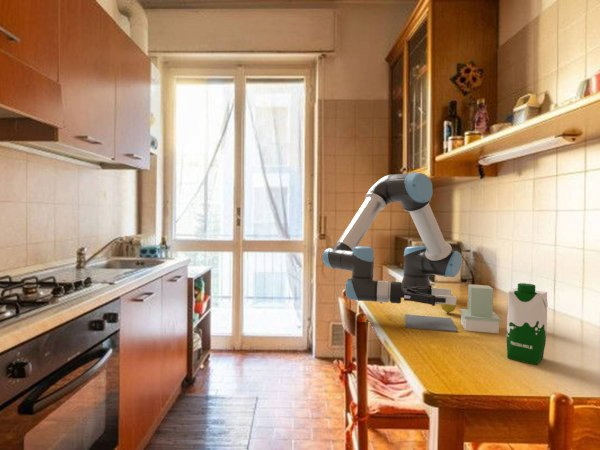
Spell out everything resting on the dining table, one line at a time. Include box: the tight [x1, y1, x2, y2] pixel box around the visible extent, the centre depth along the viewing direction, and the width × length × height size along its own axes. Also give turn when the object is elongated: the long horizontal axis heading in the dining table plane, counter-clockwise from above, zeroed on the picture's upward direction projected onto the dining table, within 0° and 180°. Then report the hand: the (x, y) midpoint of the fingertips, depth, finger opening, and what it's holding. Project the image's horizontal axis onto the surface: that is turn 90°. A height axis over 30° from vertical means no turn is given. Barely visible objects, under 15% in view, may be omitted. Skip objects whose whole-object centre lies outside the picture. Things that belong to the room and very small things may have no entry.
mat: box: [404, 313, 458, 333], centre depth 138 cm, size 16×16×1 cm
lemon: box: [440, 293, 457, 314], centre depth 153 cm, size 6×6×8 cm
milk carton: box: [506, 282, 548, 366], centre depth 106 cm, size 9×9×20 cm
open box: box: [460, 313, 500, 334], centre depth 134 cm, size 10×10×4 cm
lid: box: [459, 283, 502, 323], centre depth 134 cm, size 11×11×10 cm
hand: (453, 296), depth 136 cm, fingers open, 13 cm apart
